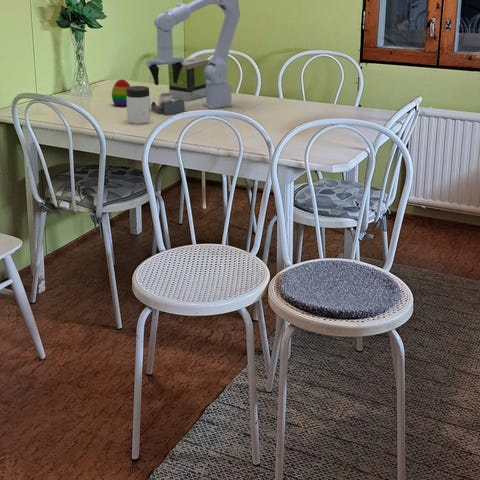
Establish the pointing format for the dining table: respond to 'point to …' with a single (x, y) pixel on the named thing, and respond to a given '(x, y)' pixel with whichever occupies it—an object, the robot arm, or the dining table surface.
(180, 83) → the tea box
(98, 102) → the dining table surface
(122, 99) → the decorative egg
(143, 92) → the jar
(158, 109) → the motor cradle
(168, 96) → the pump
